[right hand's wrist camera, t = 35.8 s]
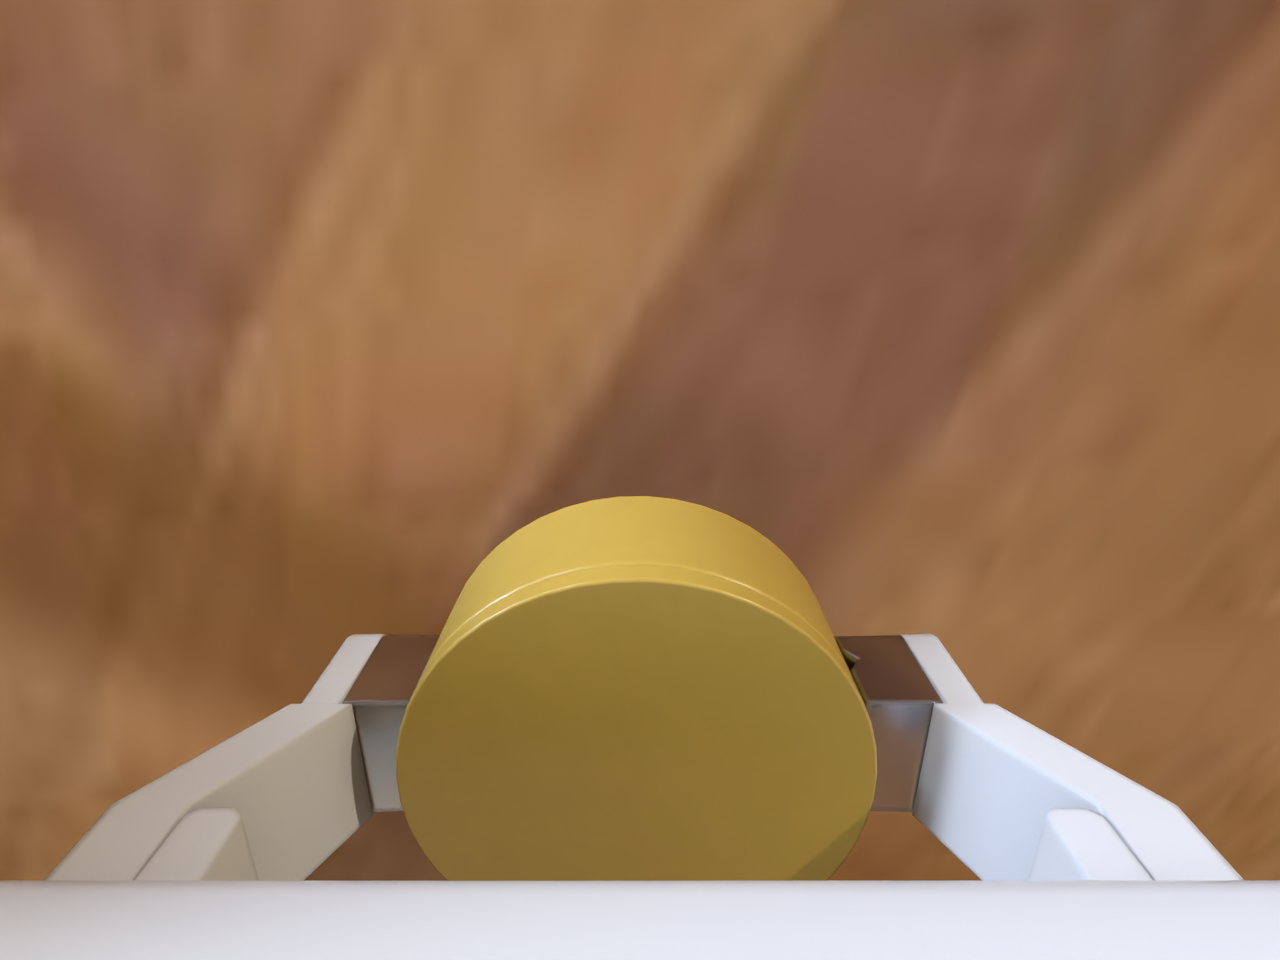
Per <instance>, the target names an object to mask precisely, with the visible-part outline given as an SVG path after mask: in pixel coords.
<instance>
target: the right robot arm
mask: <svg viewBox="0 0 1280 960" xmlns="http://www.w3.org/2000/svg"><path fill="white" fill-rule="evenodd" d="M439 637H440V635H398V634H388V635H385V634H354V635H352V636H349V637H347V638H346V640H345V641H344V643H343V644H342V645H341V647H340V648H339V650H338V651H337V653H336V654H335V656H334V657H333V659H332V660H331V661H330V663H329V664H328V666H327V667H326V669H325V670H324V672H323V673H322V674H321V676H320V677H319V679H318V680H317V682H316V683H315V685H314V686H313V688H312V689H311V690H310V692H309V693H308V695H307V696H306V698H305V699H304V701H303V702H302V703H301V704H289V705H288V706H286V707H284V708H282V709H281V710H279V711H277V712H275V713H273V714H272V715H270V716H268V717H266V718H265V719H263V720H261V721H259V722H257V723H256V724H254V725H252V726H250V727H248V728H247V729H245V730H243V731H241V732H240V733H238V734H236V735H234V736H232V737H231V738H229V739H227V740H225V741H224V742H222V743H220V744H218V745H216V746H215V747H213V748H211V749H209V750H207V751H206V752H204V753H202V754H200V755H199V756H197V757H195V758H193V759H191V760H190V761H188V762H186V763H184V764H183V765H181V766H179V767H177V768H175V769H174V770H172V771H170V772H168V773H167V774H165V775H163V776H161V777H159V778H158V779H156V780H154V781H152V782H150V783H149V784H147V785H145V786H143V787H142V788H140V789H138V790H136V791H134V792H133V793H131V794H129V795H127V796H126V797H124V798H122V799H120V800H118V801H117V802H115V803H113V804H111V805H110V807H109V808H108V809H107V810H106V811H105V812H104V813H103V814H102V815H101V817H100V818H99V819H98V820H97V821H96V822H95V823H94V824H93V826H92V827H91V828H90V829H89V830H88V831H87V832H86V833H85V835H84V836H83V837H82V838H81V839H80V840H79V841H78V842H77V844H76V845H75V846H74V847H73V848H72V849H71V850H70V851H69V853H68V854H67V855H66V856H65V857H64V858H63V859H62V860H61V862H60V863H59V864H58V865H57V866H56V867H55V868H54V869H53V870H52V872H51V873H50V874H49V875H48V876H47V877H46V878H45V879H44V881H10V880H0V960H1280V880H1243V879H1242V877H1241V876H1240V875H1239V874H1238V873H1237V872H1236V871H1235V870H1234V869H1233V867H1232V866H1231V865H1230V864H1229V863H1228V862H1227V861H1226V860H1225V859H1224V857H1223V856H1222V855H1221V854H1220V853H1219V852H1218V851H1217V850H1216V848H1215V847H1214V846H1213V845H1212V844H1211V843H1210V842H1209V841H1208V840H1207V838H1206V837H1205V836H1204V835H1203V834H1202V833H1201V832H1200V831H1199V830H1198V828H1197V827H1196V826H1195V825H1194V824H1193V823H1192V822H1191V821H1190V819H1189V818H1188V817H1187V816H1186V815H1185V814H1184V813H1183V812H1182V811H1181V809H1180V808H1179V807H1178V806H1177V805H1175V804H1173V803H1171V802H1170V801H1168V800H1166V799H1164V798H1163V797H1161V796H1159V795H1157V794H1155V793H1154V792H1152V791H1150V790H1148V789H1146V788H1145V787H1143V786H1141V785H1139V784H1138V783H1136V782H1134V781H1132V780H1130V779H1129V778H1127V777H1125V776H1123V775H1121V774H1120V773H1118V772H1116V771H1114V770H1112V769H1111V768H1109V767H1107V766H1105V765H1104V764H1102V763H1100V762H1098V761H1096V760H1095V759H1093V758H1091V757H1089V756H1087V755H1086V754H1084V753H1082V752H1080V751H1078V750H1077V749H1075V748H1073V747H1071V746H1070V745H1068V744H1066V743H1064V742H1062V741H1061V740H1059V739H1057V738H1055V737H1053V736H1052V735H1050V734H1048V733H1046V732H1044V731H1043V730H1041V729H1039V728H1037V727H1036V726H1034V725H1032V724H1030V723H1028V722H1027V721H1025V720H1023V719H1021V718H1019V717H1018V716H1016V715H1014V714H1012V713H1010V712H1009V711H1007V710H1005V709H1003V708H1002V707H1000V706H998V705H996V704H984V703H983V701H982V700H981V698H980V697H979V696H978V694H977V693H976V691H975V690H974V689H973V687H972V686H971V684H970V683H969V681H968V680H967V679H966V677H965V676H964V674H963V673H962V672H961V670H960V669H959V667H958V666H957V665H956V663H955V662H954V660H953V659H952V657H951V656H950V655H949V653H948V652H947V650H946V649H945V648H944V646H943V645H942V643H941V642H940V640H939V639H938V638H937V637H936V636H934V635H932V634H906V635H892V636H834V638H835V640H836V642H837V645H838V647H839V649H840V651H841V653H842V656H843V658H844V660H845V662H846V664H847V667H848V669H849V671H850V673H851V675H852V678H853V680H854V682H855V684H856V686H857V688H858V691H859V693H860V695H861V697H862V700H863V702H864V705H865V707H866V710H867V712H868V715H869V718H870V720H871V723H872V728H873V733H874V738H875V743H876V747H877V778H876V785H875V792H874V799H873V802H872V805H871V808H870V811H901V812H913V814H912V815H913V816H914V817H915V818H916V819H917V820H919V821H920V822H921V823H922V824H923V825H924V826H925V827H926V828H927V829H928V830H929V831H930V832H931V833H932V834H933V835H934V836H935V837H937V838H938V839H939V840H940V841H941V842H942V843H943V844H944V845H945V846H946V847H947V848H948V849H949V850H950V851H951V852H952V853H953V854H955V855H956V856H957V857H958V858H959V859H960V860H961V861H962V862H963V863H964V864H965V865H966V866H967V867H968V868H969V869H970V870H971V871H973V872H974V873H975V874H976V875H977V876H978V877H979V878H980V879H981V880H982V881H854V880H667V881H304V880H305V879H306V878H307V877H308V876H309V875H310V874H311V873H312V872H313V871H314V870H315V869H317V868H318V867H319V866H320V865H321V864H322V863H323V862H324V861H325V860H326V859H327V858H328V857H329V856H330V855H331V854H332V853H333V852H334V851H336V850H337V849H338V848H339V847H340V846H341V845H342V844H343V843H344V842H345V841H346V840H347V839H348V838H349V837H350V836H351V835H352V834H353V833H354V832H356V831H357V830H358V829H359V828H360V827H361V826H362V825H363V824H364V823H365V822H366V821H367V820H368V819H369V818H370V817H371V816H372V812H384V811H403V809H402V807H401V803H400V798H399V792H398V787H397V782H396V748H397V742H398V735H399V729H400V726H401V723H402V720H403V717H404V714H405V711H406V708H407V705H408V703H409V701H410V699H411V696H412V694H413V692H414V690H415V688H416V686H417V684H418V682H419V679H420V677H421V675H422V673H423V671H424V669H425V667H426V665H427V662H428V660H429V658H430V656H431V654H432V652H433V650H434V648H435V645H436V643H437V641H438V639H439Z"/></svg>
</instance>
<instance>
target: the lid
mask: <svg viewBox="0 0 1280 960" xmlns="http://www.w3.org/2000/svg"><path fill="white" fill-rule="evenodd" d="M876 778H877V747H876V743H875V738H874V733H873V728H872V723H871V720H870V718H869V715H868V712H867V710H866V707H865V705H864V702H863V700H862V697H861V695H860V693H859V691H858V688H857V686H856V684H855V682H854V680H853V678H852V675H851V673H850V671H849V669H848V667H847V664H846V662H845V660H844V658H843V656H842V653H841V651H840V649H839V647H838V645H837V642H836V640H835V638H834V636H833V634H832V631H831V629H830V627H829V625H828V623H827V621H826V618H825V616H824V614H823V612H822V610H821V607H820V605H819V603H818V601H817V599H816V596H815V595H814V593H813V591H812V590H811V588H810V586H809V584H808V583H807V581H806V579H805V578H804V576H803V575H802V574H801V572H800V571H799V570H798V569H797V567H796V566H795V565H794V564H793V562H792V561H791V560H790V559H789V558H788V557H787V556H786V555H785V554H784V553H783V552H782V551H781V550H780V549H779V548H778V547H777V546H775V545H774V544H773V543H772V542H771V541H770V540H768V539H767V538H766V537H764V536H763V535H761V534H760V533H758V532H757V531H756V530H754V529H753V528H751V527H750V526H748V525H746V524H744V523H742V522H740V521H738V520H736V519H734V518H732V517H731V516H729V515H727V514H724V513H721V512H718V511H716V510H713V509H710V508H708V507H705V506H702V505H698V504H694V503H689V502H685V501H681V500H676V499H669V498H660V497H650V496H627V497H613V498H606V499H598V500H592V501H588V502H584V503H580V504H576V505H573V506H569V507H565V508H563V509H560V510H558V511H555V512H553V513H550V514H548V515H546V516H543V517H541V518H539V519H537V520H535V521H533V522H532V523H530V524H528V525H526V526H525V527H523V528H521V529H519V530H518V531H516V532H515V533H514V534H512V535H511V536H510V537H508V538H507V539H506V540H504V541H503V542H502V543H501V544H499V545H498V546H497V547H496V548H495V549H494V550H493V551H492V552H491V553H490V554H489V555H488V556H487V557H486V558H485V559H484V560H483V561H482V562H481V563H480V564H479V566H478V567H477V568H476V570H475V571H474V572H473V574H472V575H471V576H470V578H469V579H468V581H467V582H466V584H465V586H464V588H463V590H462V591H461V593H460V595H459V597H458V599H457V601H456V603H455V605H454V607H453V609H452V611H451V614H450V616H449V618H448V620H447V622H446V624H445V626H444V628H443V631H442V633H441V635H440V637H439V639H438V641H437V643H436V645H435V648H434V650H433V652H432V654H431V656H430V658H429V660H428V662H427V665H426V667H425V669H424V671H423V673H422V675H421V677H420V679H419V682H418V684H417V686H416V688H415V690H414V692H413V694H412V696H411V699H410V701H409V703H408V705H407V708H406V711H405V714H404V717H403V720H402V723H401V726H400V729H399V735H398V742H397V748H396V782H397V787H398V792H399V798H400V803H401V807H402V809H403V812H404V815H405V818H406V820H407V823H408V826H409V828H410V830H411V832H412V834H413V836H414V837H415V839H416V841H417V843H418V845H419V847H420V848H421V850H422V851H423V853H424V854H425V855H426V857H427V858H428V859H429V861H430V862H431V863H432V865H433V866H434V867H435V869H436V870H437V871H438V872H439V873H440V874H441V875H442V876H443V877H444V878H445V879H446V880H447V881H667V880H827V879H828V878H829V877H830V876H831V875H832V874H833V873H834V872H835V871H836V870H837V868H838V867H839V866H840V865H841V864H842V863H843V861H844V860H845V858H846V857H847V855H848V854H849V852H850V851H851V850H852V848H853V847H854V845H855V844H856V842H857V840H858V838H859V836H860V834H861V832H862V830H863V828H864V825H865V823H866V821H867V818H868V815H869V812H870V808H871V805H872V802H873V799H874V792H875V785H876Z"/></svg>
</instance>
